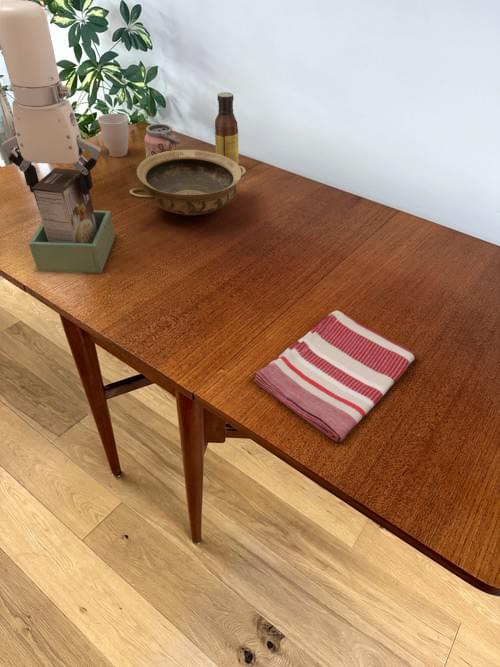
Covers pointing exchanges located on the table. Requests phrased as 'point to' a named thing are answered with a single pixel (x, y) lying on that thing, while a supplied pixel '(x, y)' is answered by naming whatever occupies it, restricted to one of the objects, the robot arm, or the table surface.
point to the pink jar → (159, 139)
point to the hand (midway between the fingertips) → (61, 190)
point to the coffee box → (65, 207)
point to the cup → (114, 133)
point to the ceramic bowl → (188, 181)
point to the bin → (74, 249)
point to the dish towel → (335, 373)
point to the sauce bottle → (226, 128)
